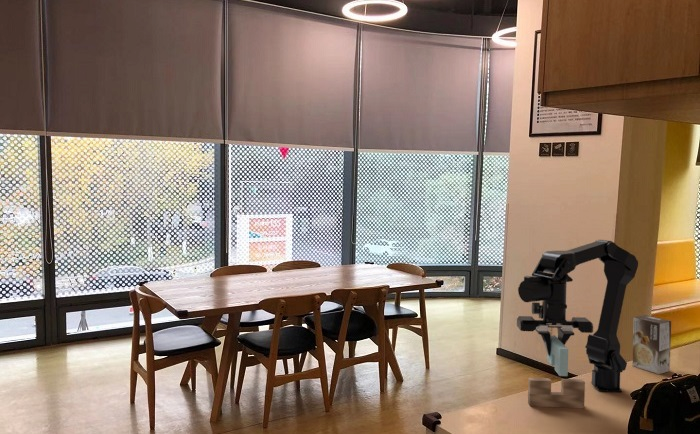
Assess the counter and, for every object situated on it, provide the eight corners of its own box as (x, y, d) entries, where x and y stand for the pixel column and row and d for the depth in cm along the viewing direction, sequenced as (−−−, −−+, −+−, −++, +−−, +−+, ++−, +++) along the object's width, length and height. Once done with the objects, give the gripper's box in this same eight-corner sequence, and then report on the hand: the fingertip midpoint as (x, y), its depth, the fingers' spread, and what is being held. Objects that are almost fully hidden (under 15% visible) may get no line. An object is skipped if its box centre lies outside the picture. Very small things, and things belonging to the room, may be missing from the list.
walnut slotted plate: (581, 405, 144) (582, 379, 144) (584, 408, 142) (585, 382, 142) (527, 402, 145) (528, 377, 145) (529, 406, 143) (530, 380, 143)
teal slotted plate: (567, 376, 137) (568, 349, 136) (559, 375, 137) (560, 348, 137) (554, 360, 149) (555, 335, 148) (546, 360, 149) (547, 335, 149)
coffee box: (671, 371, 169) (673, 320, 168) (658, 374, 166) (660, 323, 165) (643, 362, 177) (645, 314, 176) (630, 365, 174) (632, 316, 173)
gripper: (580, 292, 152) (579, 347, 153) (513, 291, 154) (512, 345, 155) (594, 301, 141) (593, 360, 142) (521, 300, 143) (520, 358, 144)
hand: (553, 355), depth 146 cm, fingers closed on teal slotted plate, 2 cm apart
